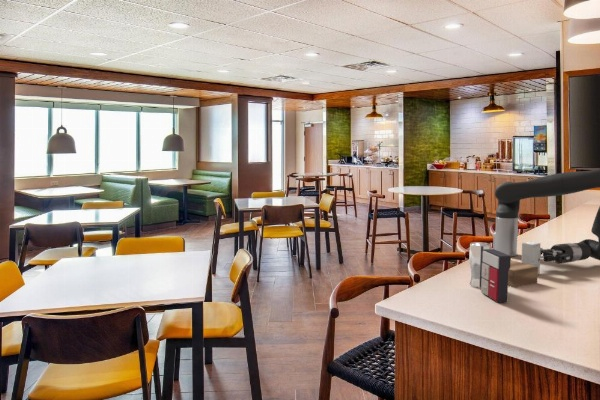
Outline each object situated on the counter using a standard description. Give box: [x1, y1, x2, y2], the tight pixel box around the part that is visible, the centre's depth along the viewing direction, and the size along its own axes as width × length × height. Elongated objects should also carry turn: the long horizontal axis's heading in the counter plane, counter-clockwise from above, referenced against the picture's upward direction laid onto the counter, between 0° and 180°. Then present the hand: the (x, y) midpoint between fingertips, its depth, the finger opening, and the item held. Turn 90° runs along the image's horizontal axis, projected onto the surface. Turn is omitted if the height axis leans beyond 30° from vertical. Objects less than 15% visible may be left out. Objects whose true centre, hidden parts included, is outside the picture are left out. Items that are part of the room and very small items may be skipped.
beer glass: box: [468, 241, 491, 289], centre depth 162 cm, size 7×7×15 cm
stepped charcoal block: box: [480, 248, 512, 304], centre depth 149 cm, size 11×4×15 cm, turn 5°
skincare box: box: [521, 241, 541, 275], centre depth 178 cm, size 6×4×12 cm
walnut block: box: [508, 259, 539, 288], centre depth 168 cm, size 12×12×6 cm
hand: (535, 256), depth 179 cm, fingers open, 8 cm apart
